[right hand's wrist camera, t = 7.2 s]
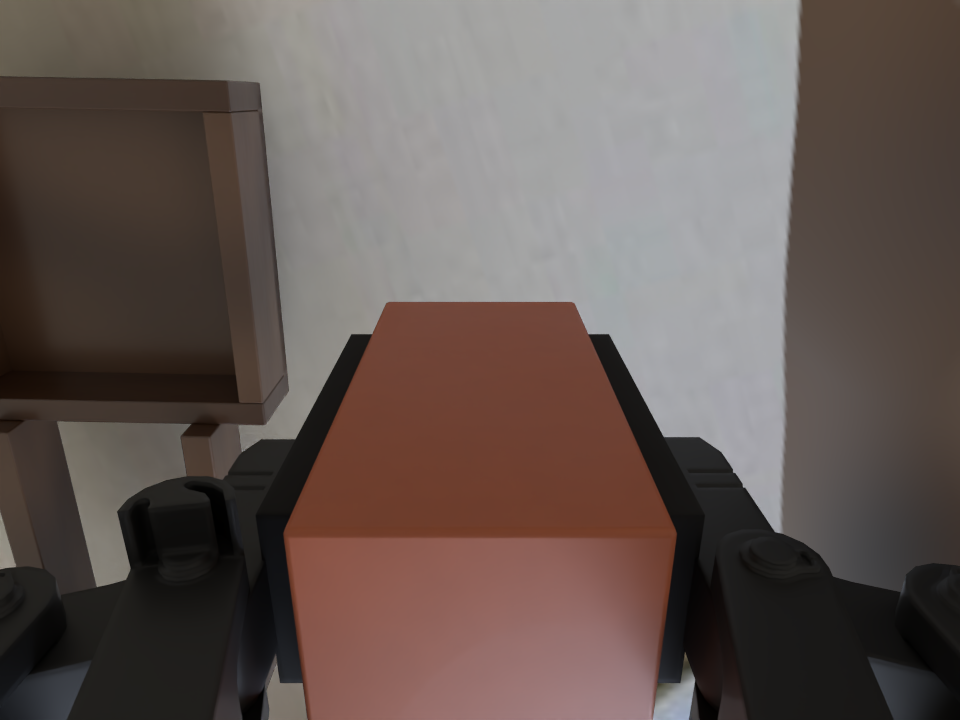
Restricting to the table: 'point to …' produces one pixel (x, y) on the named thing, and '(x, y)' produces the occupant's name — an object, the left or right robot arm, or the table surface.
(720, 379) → the table surface
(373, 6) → the table surface
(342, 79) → the table surface
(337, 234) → the table surface
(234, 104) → the walnut tray
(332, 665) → the terracotta block
